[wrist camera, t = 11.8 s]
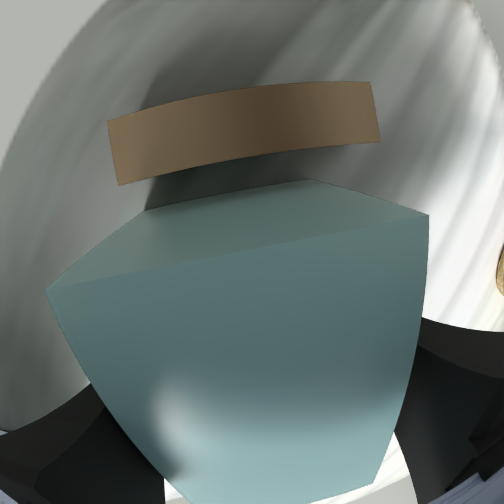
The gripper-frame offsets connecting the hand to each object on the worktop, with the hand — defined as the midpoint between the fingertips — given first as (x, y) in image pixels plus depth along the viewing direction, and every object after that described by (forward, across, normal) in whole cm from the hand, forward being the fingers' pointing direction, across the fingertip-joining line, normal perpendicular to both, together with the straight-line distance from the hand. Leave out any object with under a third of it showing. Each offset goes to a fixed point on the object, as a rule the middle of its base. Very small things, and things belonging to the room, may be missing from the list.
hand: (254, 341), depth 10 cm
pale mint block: (+2, 0, 0) cm, 2 cm away
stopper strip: (+2, -1, -7) cm, 7 cm away
